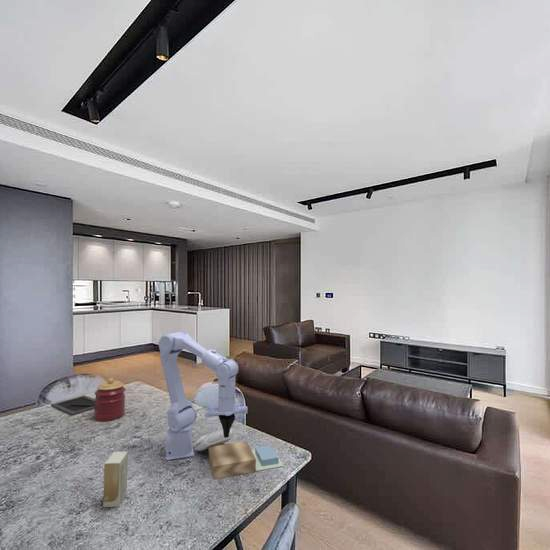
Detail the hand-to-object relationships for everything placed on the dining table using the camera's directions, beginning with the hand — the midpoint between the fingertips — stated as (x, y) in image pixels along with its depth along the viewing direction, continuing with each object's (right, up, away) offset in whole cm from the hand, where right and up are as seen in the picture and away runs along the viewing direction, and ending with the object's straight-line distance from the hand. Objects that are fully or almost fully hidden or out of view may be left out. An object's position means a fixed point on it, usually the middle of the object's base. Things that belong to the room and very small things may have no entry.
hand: (226, 436), depth 108 cm
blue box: (+14, -8, +4) cm, 17 cm away
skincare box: (-29, -9, -19) cm, 35 cm away
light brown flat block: (+2, -10, 0) cm, 10 cm away
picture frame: (-83, -12, +51) cm, 98 cm away
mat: (+13, -10, +4) cm, 17 cm away
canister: (-61, -11, +39) cm, 73 cm away
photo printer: (-1, -6, +13) cm, 15 cm away
